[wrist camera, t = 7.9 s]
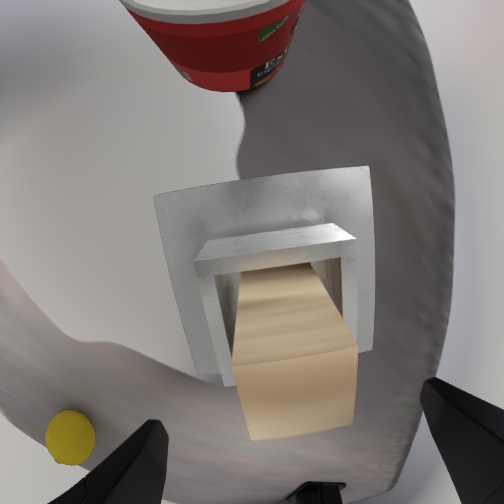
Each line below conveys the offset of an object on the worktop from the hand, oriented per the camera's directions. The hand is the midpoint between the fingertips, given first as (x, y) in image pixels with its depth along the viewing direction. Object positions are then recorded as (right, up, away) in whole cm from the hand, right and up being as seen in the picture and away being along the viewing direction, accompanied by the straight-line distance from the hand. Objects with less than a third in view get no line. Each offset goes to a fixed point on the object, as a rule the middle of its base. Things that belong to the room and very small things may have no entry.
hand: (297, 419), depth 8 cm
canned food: (-3, +19, +8) cm, 21 cm away
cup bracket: (0, +3, +12) cm, 13 cm away
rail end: (0, +3, +10) cm, 10 cm away
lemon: (-21, -13, +17) cm, 30 cm away
